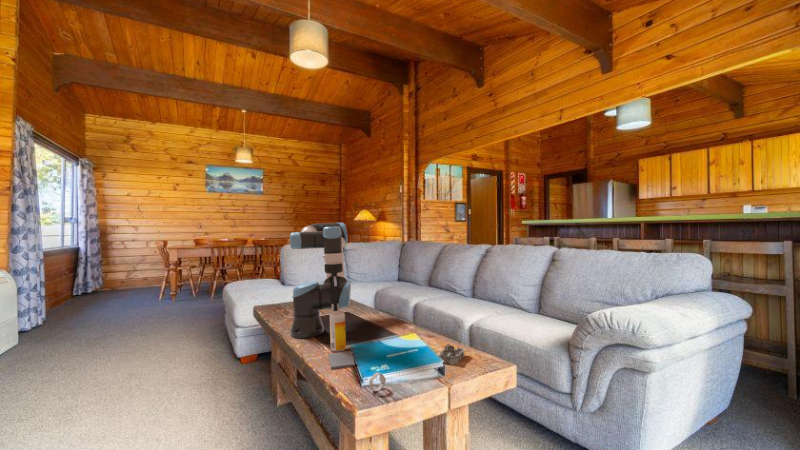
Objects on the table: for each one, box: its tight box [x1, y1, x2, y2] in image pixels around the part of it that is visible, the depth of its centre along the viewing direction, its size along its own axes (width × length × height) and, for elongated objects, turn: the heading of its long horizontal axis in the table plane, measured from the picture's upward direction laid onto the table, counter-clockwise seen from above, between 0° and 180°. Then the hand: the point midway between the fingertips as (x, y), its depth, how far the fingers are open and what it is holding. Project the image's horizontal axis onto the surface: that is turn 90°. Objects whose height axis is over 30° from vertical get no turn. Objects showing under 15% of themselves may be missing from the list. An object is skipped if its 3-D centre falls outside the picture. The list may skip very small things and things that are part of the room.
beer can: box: [329, 310, 347, 353], centre depth 144 cm, size 6×6×15 cm
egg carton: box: [438, 343, 466, 366], centre depth 131 cm, size 11×8×4 cm
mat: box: [327, 350, 356, 370], centre depth 133 cm, size 13×9×1 cm
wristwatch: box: [368, 372, 387, 392], centre depth 109 cm, size 3×5×5 cm, turn 134°
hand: (335, 318), depth 152 cm, fingers closed
